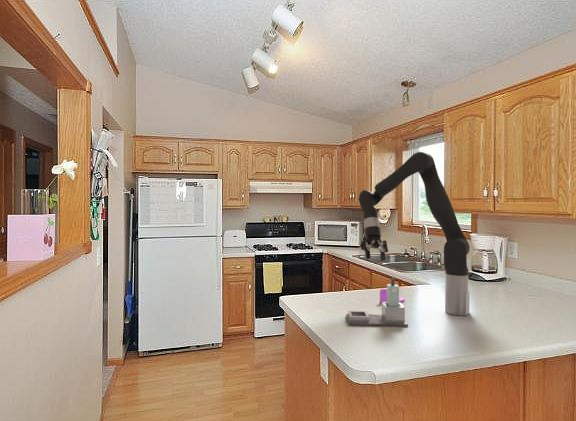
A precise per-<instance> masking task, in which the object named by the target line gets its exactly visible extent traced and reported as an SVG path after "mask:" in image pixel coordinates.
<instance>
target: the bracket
mask: <svg viewBox="0 0 576 421" xmlns="http://www.w3.org/2000/svg"><path fill="white" fill-rule="evenodd" d="M379 290H380V291H379V303H380V304H382V302H387V288H383V287H382V288H380V289H379ZM399 302H400V303H401V304H402V303H404V302H405V298H404V297H401V296H399Z"/></svg>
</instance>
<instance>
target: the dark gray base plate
mask: <svg viewBox="0 0 576 421" xmlns="http://www.w3.org/2000/svg"><path fill="white" fill-rule="evenodd" d="M405 311H406V308H405V306H404V305H403V304H402V302H401V303H400V302H399V307H387V302H382V303H381V314H372V313H370V314H368V312H367V311H366V310H365V311H364V310H362V311H361V310H347V313H346V314H345V317H346V318H345V319H346V321H347V324H348V326H349V327H354V326H355V327H395V328H396V327H400V328H402V327H403V328H407V327H409V323H407V321H406V319H405V317H406V312H405Z"/></svg>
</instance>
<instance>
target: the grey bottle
mask: <svg viewBox="0 0 576 421" xmlns="http://www.w3.org/2000/svg"><path fill="white" fill-rule="evenodd" d="M395 280H396V279H395V277H391V278H390V283H387V284H386V290H387V307H399V297H400V286H399V285H398V284H397V283H395V282H396V281H395Z"/></svg>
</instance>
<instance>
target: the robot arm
mask: <svg viewBox="0 0 576 421" xmlns="http://www.w3.org/2000/svg"><path fill="white" fill-rule="evenodd" d="M416 173H419V176H420V178H421V181H422V182H423V185H424V193H425V199H426V203H427V205H428V209H429V210H430V213H431V215H432V216H433V218H434V219H435V221H436V222H437V224H438V225H439V227H440V228H441V230H442V232H443V234H444V237H445V240H446V242H445V244H444V245H443V267H444V270H445V271H444V276H445V277H444V278H445V281H444V282H445V283H444V284H445V286H444V293H445V294H444V297H445V299H444V304H445V306H444V308H445V310H444V311H445V313H446V314H449V315H454V316H465V317H466V316H468V314H470V291H469V268H468V263H467V261H468V260H467V259H468V258H467V256H468V254H469V253H470V249H471V248H470V247H471V246H470V244H469V240H468V239H467V238H466V236H465V234H464V232H463V230H462V228H461V227H460V225H459V222H458V219H457V216H456V213H455V210H454V208H453V205H452V202H451V200H450V198H449V195H448V194H447V191H446V189H445V187H444V185H443V183H442V181H441V179H440V177H439V173H438V169H437V168H436V162H435V161H434V157H433V156H432V155H431V154H429V153H428V152H425V151H417V152H415V153H413V154H412V155H411V156H410V157H409V158H408V159H407V160H406V161H405V162H404V163H403V164H402V165H400V166H399V167H398V168H396V170H395V171H393V172H392V173H390V175H388V176H386V177H385V178H384V179H382V180H381V181H380V182H378V183H377V184H375V186H374V191H373V192H372V191H370V190H368V189H363V190H362V191H361V192H360V193H359V195H358V202H359V204H360V209H361V210H362V213H363V214H362V215H363V227H364V236H363V237H360V250H362V251H364V255H365V258H366V260H369V259H371V251H370V249H376V250H377V251H378V252H379V253H380V254H379V256H380V261H381V262H384V261H386V253H388V252H389V249H388V243H387V240H386V239H384V240H382V239H381V236H382V233H381V226H380V225H381V224H380V220H379V214H378V210H377V208H376V207H375V206H376V205H378V204H380V202H381V201H382V200H383V199H384V197H385V196H387V195H389V194H390V193H391V192H393V191H394V190H395V189H396V188H398V187H399V186H400V185H401V184H402V183H403V182H404V181H405V180H406V179H407V178H409V177H410V176H412V175H414V174H416Z"/></svg>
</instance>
